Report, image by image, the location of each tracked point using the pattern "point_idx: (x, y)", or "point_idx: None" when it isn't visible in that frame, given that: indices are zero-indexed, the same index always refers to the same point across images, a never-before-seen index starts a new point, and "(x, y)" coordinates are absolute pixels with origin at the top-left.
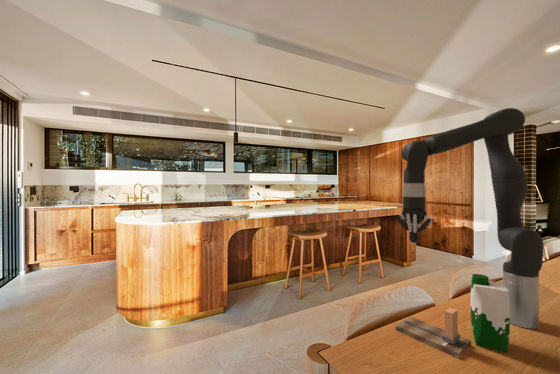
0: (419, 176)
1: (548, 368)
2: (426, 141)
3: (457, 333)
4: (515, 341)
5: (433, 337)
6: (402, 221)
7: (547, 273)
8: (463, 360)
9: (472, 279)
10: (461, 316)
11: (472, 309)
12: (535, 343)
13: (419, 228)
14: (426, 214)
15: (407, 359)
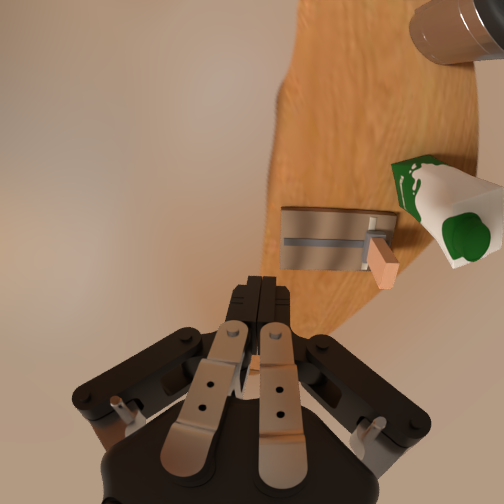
0: None
1: None
2: None
3: (383, 239)
4: (442, 137)
5: (346, 257)
6: (156, 410)
7: None
8: None
9: (456, 245)
10: (352, 89)
11: (421, 223)
12: (462, 121)
13: (311, 390)
14: (375, 488)
15: (327, 316)
